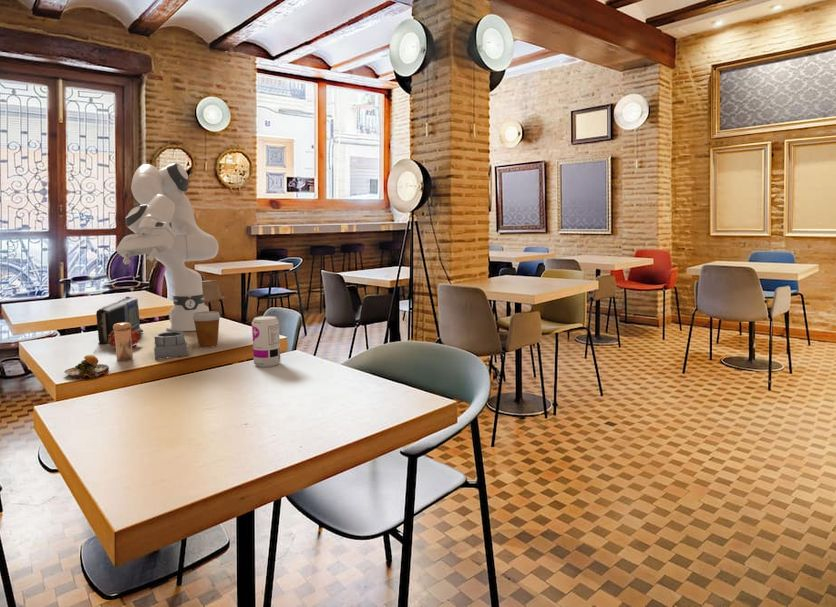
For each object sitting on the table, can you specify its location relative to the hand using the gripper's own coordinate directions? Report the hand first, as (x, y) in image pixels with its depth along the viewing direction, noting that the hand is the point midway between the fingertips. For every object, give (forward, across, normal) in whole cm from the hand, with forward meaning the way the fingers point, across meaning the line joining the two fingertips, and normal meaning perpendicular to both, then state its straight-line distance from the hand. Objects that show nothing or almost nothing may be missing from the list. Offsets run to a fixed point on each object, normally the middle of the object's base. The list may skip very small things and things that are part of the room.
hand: (137, 261), depth 201 cm
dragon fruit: (+19, -14, +23) cm, 33 cm away
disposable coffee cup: (+15, +13, +32) cm, 38 cm away
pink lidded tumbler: (+30, -2, +14) cm, 33 cm away
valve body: (+23, +6, +23) cm, 33 cm away
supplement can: (+31, +46, +21) cm, 60 cm away
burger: (+43, -1, +2) cm, 43 cm away
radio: (+9, -27, +32) cm, 42 cm away
